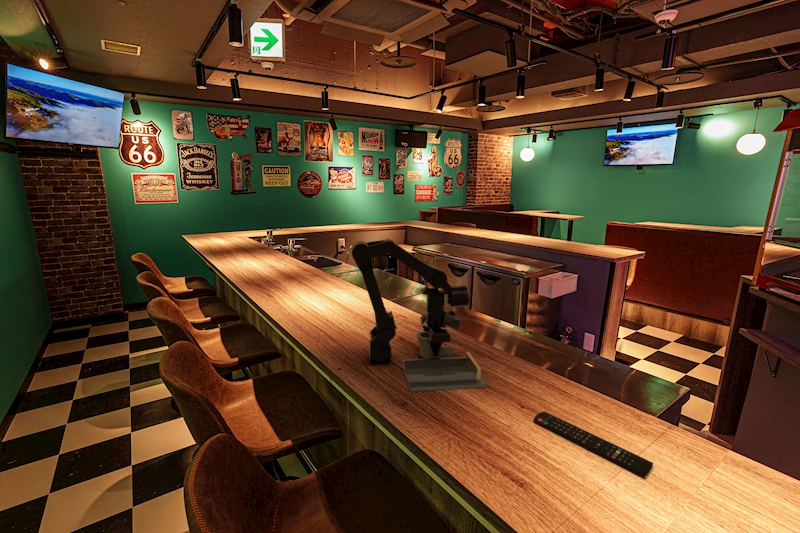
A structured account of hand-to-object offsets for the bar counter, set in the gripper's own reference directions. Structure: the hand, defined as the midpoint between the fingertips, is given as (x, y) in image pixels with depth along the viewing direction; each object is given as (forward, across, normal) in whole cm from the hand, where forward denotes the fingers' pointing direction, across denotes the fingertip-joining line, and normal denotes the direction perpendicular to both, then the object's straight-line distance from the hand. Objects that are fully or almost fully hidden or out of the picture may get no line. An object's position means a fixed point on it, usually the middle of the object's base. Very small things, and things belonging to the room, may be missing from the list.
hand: (433, 351), depth 123 cm
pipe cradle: (+2, -13, 0) cm, 13 cm away
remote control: (+3, -45, -25) cm, 52 cm away
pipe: (+2, 0, 0) cm, 2 cm away
